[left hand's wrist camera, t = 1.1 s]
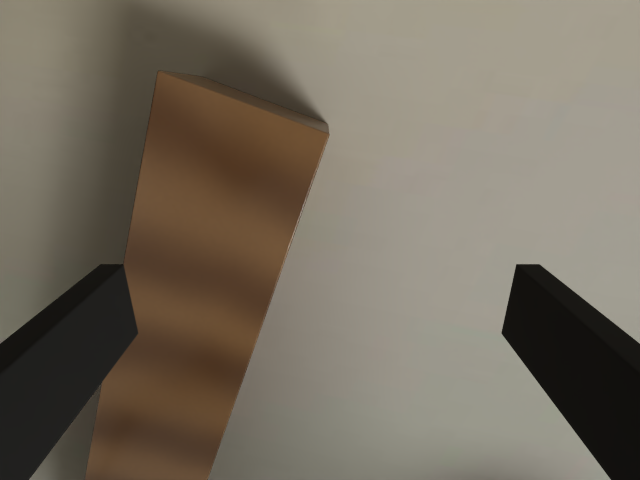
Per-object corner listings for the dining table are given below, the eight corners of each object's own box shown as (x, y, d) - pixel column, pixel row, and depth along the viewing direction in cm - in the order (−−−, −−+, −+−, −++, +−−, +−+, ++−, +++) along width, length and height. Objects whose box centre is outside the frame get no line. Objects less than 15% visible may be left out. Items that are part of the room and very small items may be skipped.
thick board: (199, 75, 25) (157, 69, 19) (328, 124, 26) (329, 133, 20) (101, 527, 43) (61, 604, 36) (181, 545, 44) (156, 623, 37)
